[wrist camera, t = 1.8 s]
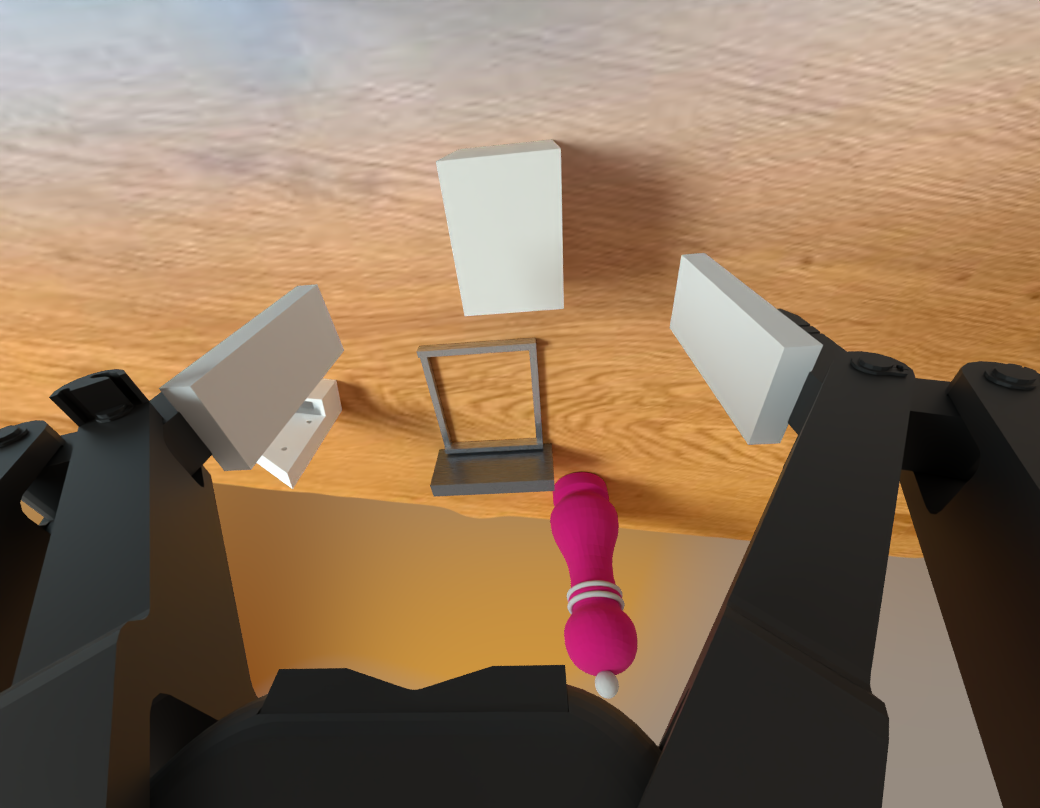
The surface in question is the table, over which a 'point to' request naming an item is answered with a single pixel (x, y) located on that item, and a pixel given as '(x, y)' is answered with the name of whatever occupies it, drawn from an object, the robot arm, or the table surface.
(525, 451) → the rail plate
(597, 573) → the pepper mill
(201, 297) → the table surface
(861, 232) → the table surface
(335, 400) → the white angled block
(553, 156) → the block
